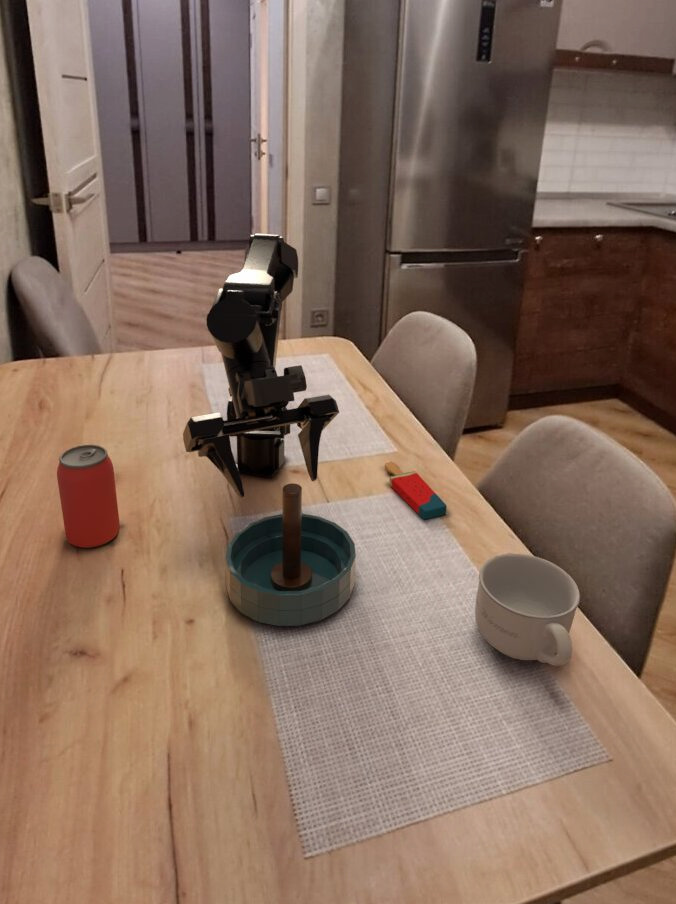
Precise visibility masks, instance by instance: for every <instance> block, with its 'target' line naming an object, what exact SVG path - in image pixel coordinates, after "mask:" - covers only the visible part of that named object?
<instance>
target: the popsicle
mask: <svg viewBox="0 0 676 904" xmlns="http://www.w3.org/2000/svg"><path fill="white" fill-rule="evenodd" d="M384 468H385V469H386V470H387V471H388V472H389V473H390V474H392V475H390V476H389V484H388V485H389V487H391V488H392V489H393V490H394V491H395V492H396V493H397V494H398V496H399V497H401V498H402V499H403V500H404V501H405V502H406V504H408V505H409V507H411V508H412V509H413V510H414V512H416V513H417V514H418V516H420V517H421V518H422V519H423V520H428V519H433V518H435V517H441V516H444V515H446V514H447V508H448V505H447V504H446V503H445V502H444V500H442V498H440V496H439V495H438V494H437V493H436V492H435V491H434V490H433V489H432V487H431V486H430V485H429V484H428V483H427V482H426V481H425V480H424V479H423V478H422V477H421V476H420V475H419V473H418V472H417V471H415V470H413V471H409V472H402V469H401V467H400V466H399V465H398V464H397V463H396V462H395V461H388V462H384Z"/></svg>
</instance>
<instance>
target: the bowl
mask: <svg viewBox="0 0 676 904" xmlns="http://www.w3.org/2000/svg"><path fill="white" fill-rule="evenodd" d="M356 555H357V553H356V544H355V542H354V540H353V538H352V537H351V536H350V534H349V532H348V531H347V530H346V529H344V528H343V527H341V526H340V525H339V524H338V523H336V522H334V521H331V520H329V519H326V518H324V517H322V516H319V515H312V514H306V513H302V519H301V562H304V563H306V564H307V565H309V566H310V568H311V570H312V582H311V584H310V586H309V587H308V588H307V589H306V590H302V591H277V590H276V589H275V588H274V587H273V586H272V584H271V571H272V569H273V568H274V567H275V566H276V565H277V564H279V563H281V562H282V513H280V514H275V515H271V516H265V517H262V518H261V519H258V520H255V521H253V522H250V523H249V524H247V525H245V526H244V527H243V528H241V529H240V530H239V531H238V532H236V533H235V534H234V536H233V537H232V538H231V539H230V542H228V544H227V546H226V553H225V556H224V557H225V559H224V560H225V586H226V587H225V588H226V591H227V594H228V597H229V600H230V602H231V604H232V605H233V606H234V607H235V608H236V609H237V610H238V611H239V612H240V614H242V615H244V616H246V617H247V618H250V619H252V620H254V621H256V622H259V623H261V624H267V625H271V626H277V627H294V626H304V625H308V624H312V623H315V622H320V621H321V620H324V619H325V618H327V617H329V616H331V615H332V614H335V613H336V612H338V611H339V610H340V609H341V608H342V607H343V606H344V605H345V603H346V602H347V601H348V600H349V599H350V597H351V595H352V592H353V589H354V586H355V581H356V580H355V579H356V577H355V576H356V558H357V556H356Z"/></svg>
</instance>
